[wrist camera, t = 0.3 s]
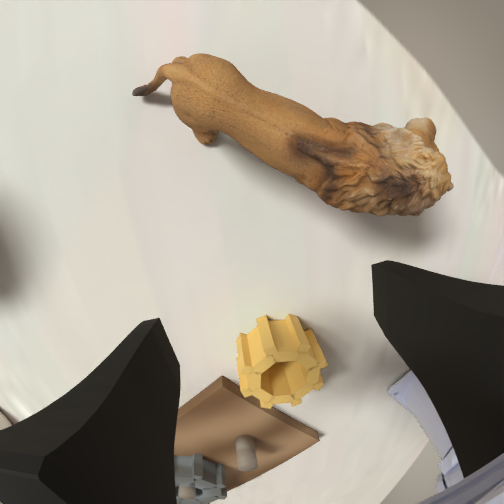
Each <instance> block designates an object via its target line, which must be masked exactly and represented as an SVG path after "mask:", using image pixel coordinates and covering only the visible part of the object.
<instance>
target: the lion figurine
mask: <svg viewBox="0 0 504 504" xmlns="http://www.w3.org/2000/svg"><path fill="white" fill-rule="evenodd" d="M166 79H169V80H170V81H171V82H172V84H173V85H172V87H171V101H172V104H173V108H174V111H175V113H176V115H177V116H178V118H179V119H180V120H181V121H182V122H183V123H184V124H186V125H187V126H188V127H190V128H191V129H192V130H193V133H194V135H195V137H196V138H197V140H198V141H199V142H200V143H202V144H204V145H207V144H211V143H213V141H214V140H215V138H216V136H217V131H220V132H222V133H225V134H227V135H229V136H230V137H232V138H233V139H234V140H236V141H237V142H238V143H239V144H241V145H242V146H243V147H244V148H246V149H247V150H248V151H250V152H251V153H253V154H254V155H256V156H257V157H258V158H260V159H261V160H263V161H264V162H265V163H267V164H268V165H270V166H272V167H273V168H275V169H277V170H279V171H281V172H283V173H286V174H288V175H290V176H293V177H295V178H296V180H297V181H298V182H299V183H301V184H305V186H307V187H308V188H309V189H311V190H313V191H315V192H317V194H318V196H319V197H320V198H321V199H322V200H323V201H324V202H325V203H326V204H329V205H331V206H333V207H335V208H340V209H341V210H347V209H349V210H350V211H352V212H357V213H359V212H369V213H373V214H375V215H376V216H384V215H386V214H388V215H396V214H398V215H400V216H407V215H412V216H419V215H420V214H421V213H422V211H423V210H424V209H426V208H429V207H431V206H433V205H434V204H435V202H436V201H438V200H440V198H441V196H442V195H443V194H444V193H446V191H450V190H451V189H452V188H453V184H452V183H451V175H450V173H449V172H448V168H447V163H446V161H445V157H444V155H443V154H442V153H440V152H439V149H438V148H437V146H436V145H435V143H434V139H435V134H436V127H435V125H434V123H433V122H432V120H431V119H429V118H422V119H419V118H415V119H411V120H410V121H409V122H408V123H407V124H406V126H405V128H396V127H393V126H391V125H389V124H386V123H379V124H377V125H375V126H371V125H368V124H364V123H361V122H349V123H344V122H342V121H340V120H338V119H336V118H322V117H320V116H319V115H318V114H316V113H315V112H313V111H312V110H310V109H309V108H307V107H305V106H304V105H302V104H300V103H298V102H295V101H293V100H291V99H288V98H285V97H283V96H280V95H277V94H274V93H271V92H267V91H264V90H261V89H259V88H257V87H255V86H254V85H252V84H251V83H250V82H248V81H247V80H246V78H245V77H244V76H243V75H242V74H241V73H240V72H239V71H238V70H237V68H236V67H235V66H234V65H233V64H232V63H230V62H229V61H227V60H224V59H221V58H218V57H215V56H212V55H209V54H194V55H192V56H191V57H189V58H186V57H176V58H175V59H174V60H173V62H172V63H169V64H165V65H162V66H161V67H160V68H159V69H158V70H157V73H156V76H155V78H154V80H153V81H151V82H150V83H149V84H148V85H144V86H141V87H138V88H136V89H134V90H133V93H132V95H133V96H147V95H149V94H151V93H152V92H154V91H156V90H157V88H158V87H159V86H160V85H161V84H162V83H163V82H164V81H165V80H166Z"/></svg>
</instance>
